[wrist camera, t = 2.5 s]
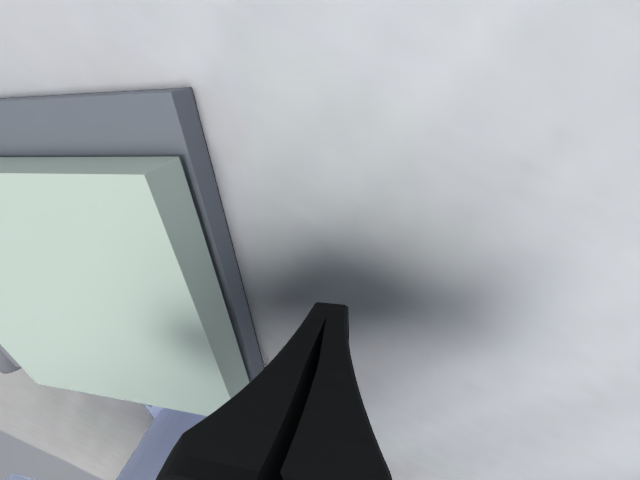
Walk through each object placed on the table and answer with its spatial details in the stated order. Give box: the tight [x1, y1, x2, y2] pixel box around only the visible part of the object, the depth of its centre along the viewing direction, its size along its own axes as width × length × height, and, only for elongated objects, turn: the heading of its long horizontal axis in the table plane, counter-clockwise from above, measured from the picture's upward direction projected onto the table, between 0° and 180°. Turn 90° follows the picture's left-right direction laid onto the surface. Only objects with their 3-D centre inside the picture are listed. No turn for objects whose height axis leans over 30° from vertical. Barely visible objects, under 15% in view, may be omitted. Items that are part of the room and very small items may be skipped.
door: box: [0, 156, 250, 416], centre depth 15 cm, size 14×17×2 cm
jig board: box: [0, 88, 264, 382], centre depth 17 cm, size 18×26×4 cm
